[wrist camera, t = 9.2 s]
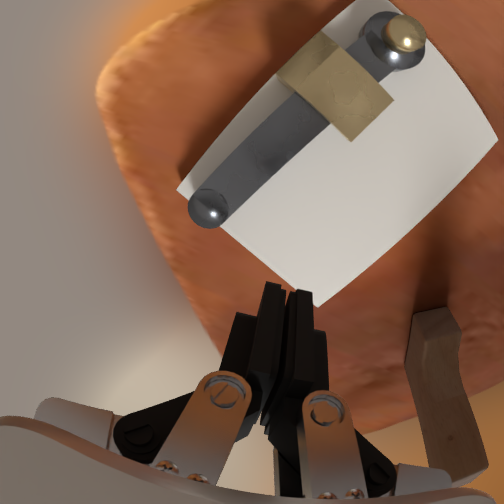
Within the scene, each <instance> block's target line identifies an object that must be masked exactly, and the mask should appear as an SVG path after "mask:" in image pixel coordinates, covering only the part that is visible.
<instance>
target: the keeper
mask: <svg viewBox="0 0 504 504" xmlns="http://www.w3.org/2000/svg"><path fill="white" fill-rule="evenodd" d="M381 38H382V41H383V43H384V44H385V45H386V47H387V48H388V49H390V50H391V51H393V52H394V53H397V54H408V53H410V52H412V51H415V50H417V49H420V48H422V47H423V46H424V45H425V43H426V32H425V30H424V28H423V26H422V25H421V24H420V23H419V22H418V21H417V20H416V19H415V18H413V17H411V16H408V15H397V16H395V17H394V18H393V19H391V20H390V21H389V22H388V23H387V24H385V25H384V26H383V28H382V30H381ZM275 74H276V76H277V79H278V81H279V82H281V83H282V84H283V85H284V86H285V87H287V88H288V89H289V90H290V91H291V92H292V93H294V92H296V93H298V94H299V95H300V96H301V97H302V98H303V99H304V100H306V101H307V102H308V103H309V104H310V105H311V106H312V107H313V108H314V109H316V110H317V111H318V112H319V113H320V114H321V115H322V116H323V117H324V118H325V119H326V120H327V121H328V122H329V123H330V124H331V125H332V126H334V127H335V128H336V129H337V130H338V131H339V132H340V133H341V134H342V135H343V136H344V137H345V138H346V139H347V140H348V141H349V142H352V141H353V140H354V139H355V138H356V137H357V136H358V135H359V134H360V133H361V132H362V131H363V130H364V129H365V128H366V127H367V126H368V125H370V124H371V123H372V122H373V121H374V120H375V119H376V118H377V117H378V116H379V115H380V114H381V113H382V112H383V111H384V110H385V109H386V108H387V107H388V106H389V105H390V104H391V103H392V102H393V101H394V99H393V98H392V97H391V96H390V95H389V94H388V93H387V91H386V90H385V89H384V88H383V87H382V86H381V85H380V84H379V83H378V82H377V81H376V80H375V79H374V78H373V77H372V76H371V75H370V74H369V73H368V72H367V71H366V70H365V69H364V68H363V67H362V66H361V65H360V64H359V63H358V62H357V61H356V60H355V59H353V58H352V57H351V56H350V55H349V54H348V53H347V52H346V51H345V50H344V49H342V48H341V47H340V46H339V45H338V44H337V43H335V42H334V41H333V40H332V39H331V38H329V37H328V36H327V35H326V34H325V33H323V32H322V31H321V30H320V31H319V32H318V33H317V34H316V35H315V36H314V37H313V38H311V39H310V40H309V41H308V42H307V43H306V44H305V45H304V46H303V47H302V48H301V49H300V50H299V51H298V52H297V53H296V54H295V55H293V56H292V57H291V58H290V59H289V60H288V61H287V62H286V63H285V64H284V65H283V66H282V67H281V68H280V69H279V70H278V71H277V72H276V73H275Z"/></svg>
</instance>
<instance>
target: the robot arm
mask: <svg viewBox="0 0 504 504" xmlns="http://www.w3.org/2000/svg"><path fill="white" fill-rule="evenodd" d="M285 299H286V290H284V289H281V285H280V284H276V283H272V282H267V281H266V284H265V288H264V291H263V295H262V299H261V303H260V306H259V310H258V314H257V317H256V316H252V315H248V314H244V313H239V312H236V315H235V319H234V322H233V325H232V329H231V332H230V335H229V338H228V342H227V345H226V348H225V352H224V355H223V358H222V362H221V365H220V368H219V371H216V372H211V373H209V374H208V375H206V376H204V378H203V379H202V380H201V381H200V382H199V384H198V386H197V388H196V390H195V391H193V392H191V393H188V394H186V395H183V396H180V397H177V398H175V399H172V400H169V401H166V402H164V403H161V404H158V405H155V406H152V407H149V408H146V409H143V410H140V411H137V412H134V413H130V414H128V415H126V416H120V415H115V414H113V412H112V411H108V410H103V409H98V408H94V407H90V406H86V405H82V404H78V403H75V402H71V401H67V400H64V399H60V398H54V397H51V398H48V399H45V400H44V401H42V402H41V403H40V405H39V406H38V408H37V411H36V413H35V416H34V419H32V418H27V417H21V416H2V417H0V504H496V502H495V500H494V499H493V498H492V497H491V496H490V495H489V494H487V493H485V492H483V491H480V490H477V489H473V488H462V487H461V488H460V487H458V488H452V481H451V477H450V475H449V474H448V473H447V472H446V471H445V470H442V469H436V468H428V467H421V466H414V465H407V464H402V463H399V464H398V465H394V464H393V463H392V462H391V461H390V460H389V459H388V458H387V457H386V456H384V455H383V454H382V453H381V452H380V451H379V450H378V449H376V448H375V447H374V446H373V445H372V444H371V443H370V442H368V440H367V439H365V438H364V437H363V436H362V435H361V434H360V433H359V432H358V431H357V430H356V429H355V428H354V426H353V421H352V417H351V413H350V409H349V407H348V404H347V403H346V401H345V400H344V399H343V398H342V397H341V396H339V395H338V394H336V393H334V392H331V391H329V376H328V356H327V340H326V333H325V331H320V330H315V329H314V317H313V293H312V292H310V291H306V290H302V289H297V290H296V292H292V291H290V293H289V296H288V299H287V302H286V305H285ZM261 411H262V413H261ZM260 413H261V419H260V425H262V426H265V431H264V434H266V435H268V440H269V441H270V442H271V443H272V445H273V446H274V449H273V458H274V459H273V460H274V485H275V496H271V495H264V494H256V493H250V492H244V491H238V490H233V489H228V488H223V487H219V486H216V484H217V481H218V479H219V477H220V474H221V472H222V470H223V468H224V466H225V463H226V461H227V459H228V456H229V454H230V452H231V449H232V447H233V444H234V443H235V442H237V441H239V440H241V439H242V438H244V437H246V436H248V434H249V432H250V431H251V428H252V426H253V424H256V422H257V420H258V418H259V416H260Z"/></svg>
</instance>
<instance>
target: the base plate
mask: <svg viewBox="0 0 504 504" xmlns="http://www.w3.org/2000/svg"><path fill="white" fill-rule="evenodd" d="M382 11H391V12H396V13H399V14H401V15H404V14H403V13H402V12H401V11H400V10H398V9H397V8H396V7H395V6H394V5H393V4H392V3H391V2H390V1H388V0H355V1H354V2H353V3H352V4H351V5H349V6H348V7H347V8H346V9H344V10H343V11H342V12H341V13H340V14H338V15H337V16H336V17H335V18H334V19H333V20H331V21H330V22H329V23H328V24H327V25H326V26H325V27H323V28H322V29H321V31H322V32H323V33H325V34H326V35H327V36H328V37H329V38H331V39H332V40H333V41H334V42H335V43H337V44H338V45H339V46H340V47H341V48H342V49H344V50H345V49H347V48H348V47H349V46H350V45H352V44H353V43H354V42H355V41H357V40H358V39H359V32H360V30H361V28H362V26H363V25H364V24H365V23H366V22H367V21H368V20H369V18H370V17H371V16H373V15H374V14H376V13H378V12H382ZM313 37H314V36H313ZM313 37H312V38H313ZM298 51H299V50H298ZM298 51H297V52H298ZM297 52H296V53H297ZM296 53H295V54H296ZM295 54H294V55H295ZM379 84H380V85H381V86H382V87H383V88H384V89H385V90H386V91H387V93H388V94H389V95H390V96H391V97H392V98H393V99H394V101H393V102H392V103H391V104H390V105H389V106H388V107H387V108H386V109H385V110H384V111H383V112H382V113H381V114H380V115H379V116H378V117H377V118H376V119H375V120H374V121H373V122H372V123H371V124H370V125H368V126H367V127H366V128H365V129H364V130H363V131H362V132H361V133H360V134H359V135H358V136H357V137H356V138H355V139H354V140H353V141H352V142H349V141H348V140H347V139H346V138H345V137H344V136H343V135H342V134H341V133H340V132H339V131H338V130H337V129H336V128H335V127H334V126H332V125H331V124H330V125H329V126H327V127H326V128H325V129H324V130H323V131H322V132H321V133H320V134H318V135H317V136H316V137H315V138H314V139H313V140H312V141H311V142H309V143H308V144H307V145H306V146H305V147H304V148H303V149H302V150H301V151H299V152H298V153H297V154H296V155H295V156H294V157H293V158H292V159H291V160H290V161H289V162H287V163H286V164H285V165H284V166H283V167H282V168H281V169H280V170H279V171H278V172H277V173H275V174H274V175H273V176H272V177H271V178H270V179H269V180H268V181H267V182H266V183H265V184H264V185H263V186H262V187H261V188H259V189H258V190H257V191H256V192H255V193H254V194H253V195H252V196H251V197H250V198H249V199H248V200H247V201H246V202H245V203H244V204H243V205H242V206H241V207H239V208H238V209H237V210H236V211H235V212H234V213H233V214H232V215H231V216H230V217H229V218H228V219H227V220H226V221H225V222H224V223H223V224H222V225H220V227H221V228H223V229H224V230H225V231H226V232H227V233H229V234H230V235H231V236H232V237H233V238H235V239H236V240H237V241H238V242H239V243H241V244H242V245H243V246H244V247H245V248H247V249H248V250H249V251H250V252H251V253H253V254H254V255H255V256H256V257H258V258H259V259H260V260H261V261H262V262H264V263H265V264H266V265H267V266H268V267H270V268H271V269H272V270H273V271H274V272H276V273H277V274H278V275H279V276H280V277H282V278H283V279H284V280H285V281H286V282H288V283H289V284H290V285H291V286H292V287H294V288H295V289H296V290H297V289H302V290H306V291H310V292H312V293H313V304H314V305H315V306H316V307H319V306H320V305H322V304H323V303H324V302H326V301H327V300H328V299H330V298H331V297H332V296H333V295H335V294H336V293H337V292H338V291H340V290H341V289H342V288H343V287H345V286H346V285H347V284H348V283H350V282H351V281H352V280H353V279H355V278H356V277H357V276H358V275H359V274H361V273H362V272H363V271H364V270H365V269H367V268H368V267H369V266H370V265H371V264H373V263H374V262H375V261H376V260H377V259H378V258H380V257H381V256H382V255H383V254H384V253H385V252H387V251H388V250H389V249H390V248H391V247H392V246H393V245H394V244H396V243H397V242H398V241H399V240H400V239H401V238H402V237H403V236H405V235H406V234H407V233H408V232H409V231H410V230H411V229H412V228H413V227H414V226H415V225H416V224H418V223H419V222H420V221H421V220H422V219H423V218H424V217H425V216H426V215H427V214H428V213H429V212H430V211H431V210H432V209H433V208H434V207H435V206H436V205H437V204H438V203H439V202H440V201H442V200H443V199H444V198H445V197H446V196H447V195H448V194H449V193H450V192H451V190H452V189H453V188H454V187H455V186H456V185H457V184H458V183H459V182H460V181H461V180H462V179H463V178H464V177H465V176H466V175H467V174H468V173H469V172H470V171H471V170H472V169H473V167H474V166H475V165H476V164H477V163H478V162H479V161H480V160H481V159H482V158H483V157H484V155H485V154H486V153H487V152H488V151H489V150H490V149H491V147H492V146H493V145H494V144H495V143H496V142H497V141H498V138H497V136H496V134H495V133H494V131H493V129H492V127H491V125H490V124H489V122H488V120H487V119H486V117H485V115H484V114H483V112H482V110H481V109H480V107H479V106H478V104H477V103H476V101H475V99H474V98H473V96H472V95H471V93H470V92H469V91H468V89H467V88H466V86H465V85H464V83H463V82H462V81H461V79H460V78H459V77H458V75H457V74H456V73H455V71H454V70H453V69H452V67H451V66H450V65H449V64H448V62H447V61H446V60H445V59H444V57H443V56H442V55H441V54H440V53H439V51H438V50H437V49H436V48H435V47H434V46H433V44H432V43H431V42H430V41H429V40H428V39H427V38H426V43H425V55H424V57H423V59H422V61H421V62H420V63H419V64H418V65H416V66H415V67H413V68H409V69H406V70H403V71H399V72H391V73H390V74H389V75H388V76H386V77H385V78H384V79H383V80H381V81H380V82H379ZM292 94H293V93H292V92H291V91H290V90H289V89H288V88H287V87H285V86H284V85H283V84H282V83H281V82H279V81H278V79H277V76H276V74H274V75H273V76H272V77H271V78H270V79H269V80H268V82H267V83H266V84H265V85H264V86H263V87H262V88H261V89H260V90H259V91H258V92H257V93H256V94H255V95H254V96H253V97H252V99H251V100H250V101H249V102H248V103H247V104H246V105H245V106H244V107H243V109H242V110H241V111H240V112H239V113H238V114H237V115H236V116H235V118H234V119H233V120H232V121H231V122H230V123H229V124H228V126H227V127H226V128H225V129H224V130H223V131H222V133H221V134H220V135H219V136H218V137H217V139H216V140H215V141H214V142H213V143H212V145H211V146H210V147H209V148H208V150H207V151H206V152H205V153H204V155H203V156H202V157H201V158H200V160H199V161H198V162H197V163H196V165H195V166H194V167H193V168H192V170H191V171H190V172H189V174H188V175H187V176H186V177H185V179H184V180H183V181H182V183H181V184H180V185H179V187H178V188H177V189H176V190H177V191H178V192H179V193H181V194H182V195H183V196H184V197H185V198H187V199H188V200H189V199H190V197H191V196H192V195H193V193H194V192H195V191H196V190H197V189H198V188H199V187H200V186H201V185H202V184H203V182H204V181H205V180H206V179H207V178H208V177H209V176H210V175H211V174H212V173H213V172H214V171H215V170H216V169H217V168H218V166H219V165H220V164H221V163H222V162H223V161H224V160H225V159H226V158H227V157H228V156H229V155H230V154H231V153H232V152H233V151H234V150H235V149H236V148H237V147H238V146H239V145H240V144H241V143H242V142H243V141H244V140H245V139H246V138H247V137H248V136H249V135H250V134H251V133H252V132H253V131H254V130H255V129H256V128H257V127H258V126H259V125H260V124H261V123H262V122H263V121H264V120H265V119H266V118H267V117H268V116H270V115H271V114H272V113H273V112H274V111H275V110H276V109H277V108H278V107H279V106H280V105H281V104H282V103H283V102H285V101H286V100H287V99H288V98H289V97H290V96H291V95H292Z"/></svg>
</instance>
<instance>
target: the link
mask: <svg viewBox="0 0 504 504" xmlns="http://www.w3.org/2000/svg"><path fill="white" fill-rule="evenodd" d="M397 15H401V14H399V13H396V12H391V11H382V12H378V13H376V14H374V15H373V16H371V17H370V18H369V20H368V21H367V22H366V23H365V24H364V25H363V26H362V28H361V30H360V32H359V39H358V40H357V41H355V42H354V43H353V44H352V45H350V46H349V47H348V48H347V49H345V51H346V52H347V53H348V54H349V55H350V56H351V57H352V58H353V59H355V60H356V61H357V62H358V63H359V64H360V65H361V66H362V67H363V68H364V69H365V70H366V71H367V72H368V73H369V74H370V75H371V76H372V77H373V78H374V79H375V80H376V81H377V82H378V83H379V82H380V81H381V80H383V79H384V78H385V77H386V76H388V75H389V74H390V73H391V72H399V71H403V70H406V69H409V68H413V67H415V66H416V65H418V64H419V63H420V62H421V61H422V59H423V57H424V55H425V45H424V46H423V47H422V48H420V49H417V50H415V51H412V52H410V53H408V54H397V53H394V52H393V51H391V50H390V49H388V48H387V47H386V45H385V44H384V43H383V41H382V38H381V30H382V28H383V26H384V25H385V24H387V23H388V22H389V21H390V20H391V19H393V18H394V17H395V16H397ZM329 125H330V123H329V122H328V121H327V120H326V119H325V118H324V117H323V116H322V115H321V114H320V113H319V112H318V111H317V110H316V109H314V108H313V107H312V106H311V105H310V104H309V103H308V102H307V101H306V100H304V99H303V98H302V97H301V96H300V95H299V94H298V93H296V92H294V93H293V94H292V95H291V96H290V97H289V98H288V99H287V100H286V101H285V102H283V103H282V104H281V105H280V106H279V107H278V108H277V109H276V110H275V111H274V112H273V113H272V114H271V115H270V116H268V117H267V118H266V119H265V120H264V121H263V122H262V123H261V124H260V125H259V126H258V127H257V128H256V129H255V130H254V131H253V132H252V133H251V134H250V135H249V136H248V137H247V138H246V139H245V140H244V141H243V142H242V143H241V144H240V145H239V146H238V147H237V148H236V149H235V150H234V151H233V152H232V153H231V154H230V155H229V156H228V157H227V158H226V159H225V160H224V161H223V162H222V163H221V164H220V165H219V166H218V168H217V169H216V170H215V171H214V172H213V173H212V174H211V175H210V176H209V177H208V178H207V179H206V180H205V181H204V182H203V184H202V185H201V186H200V187H199V188H198V189H197V190H196V191H195V192H194V193H193V195H192V196H191V197H190V199H189V202H188V212H189V215H190V217H191V219H192V220H193V221H194V222H195V223H196V224H197V225H199V226H201V227H203V228H209V229H211V228H216V227H219V226H220V225H222V224H223V223H224V222H225V221H226V220H227V219H228V218H229V217H230V216H231V215H232V214H233V213H234V212H235V211H236V210H237V209H238V208H239V207H241V206H242V205H243V204H244V203H245V202H246V201H247V200H248V199H249V198H250V197H251V196H252V195H253V194H254V193H255V192H256V191H257V190H258V189H259V188H261V187H262V186H263V185H264V184H265V183H266V182H267V181H268V180H269V179H270V178H271V177H272V176H273V175H274V174H275V173H277V172H278V171H279V170H280V169H281V168H282V167H283V166H284V165H285V164H286V163H287V162H289V161H290V160H291V159H292V158H293V157H294V156H295V155H296V154H297V153H298V152H299V151H301V150H302V149H303V148H304V147H305V146H306V145H307V144H308V143H309V142H311V141H312V140H313V139H314V138H315V137H316V136H317V135H318V134H320V133H321V132H322V131H323V130H324V129H325V128H326V127H327V126H329Z"/></svg>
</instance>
